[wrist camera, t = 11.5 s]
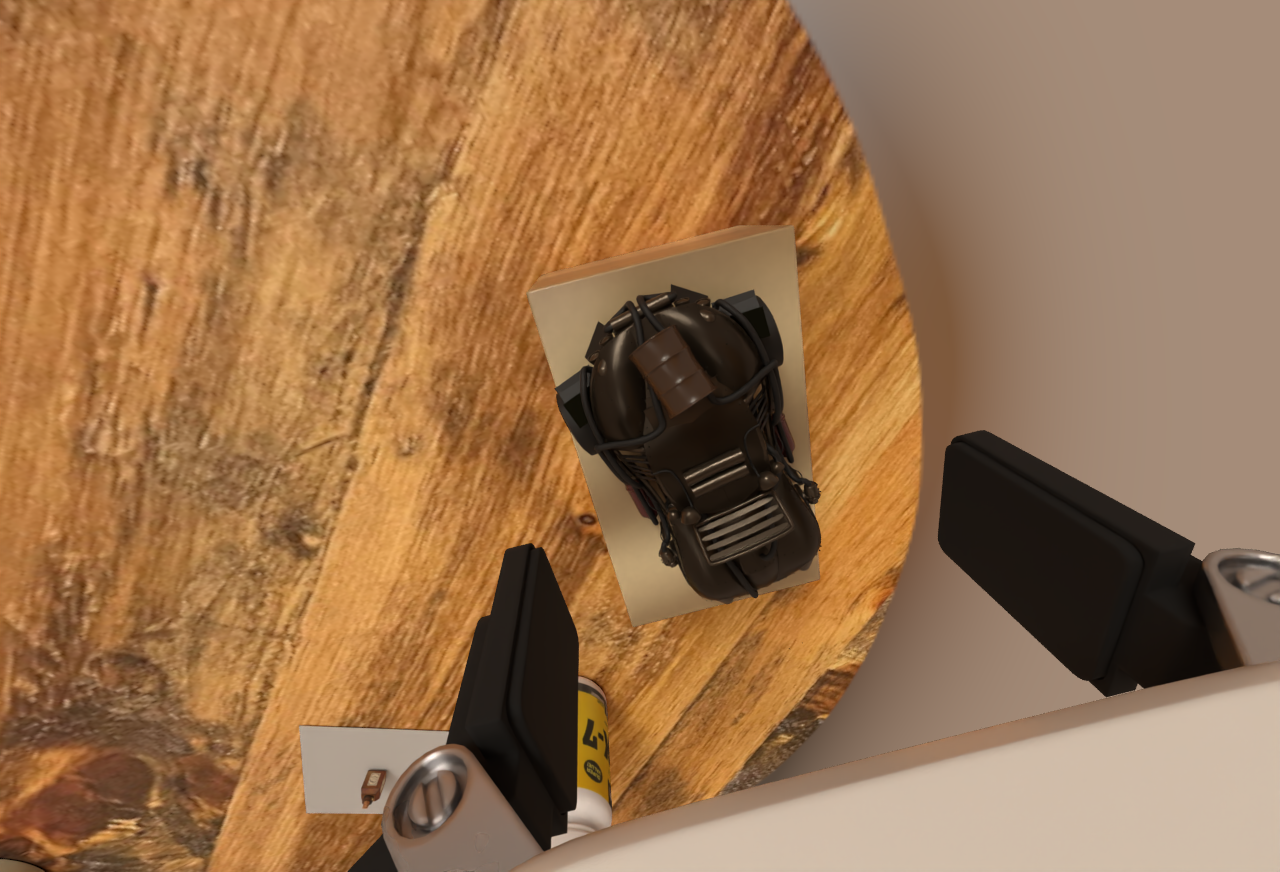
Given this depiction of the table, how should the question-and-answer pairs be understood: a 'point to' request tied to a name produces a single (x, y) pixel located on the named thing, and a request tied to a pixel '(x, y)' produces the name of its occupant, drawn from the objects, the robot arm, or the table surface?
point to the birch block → (597, 294)
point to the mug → (17, 866)
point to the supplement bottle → (590, 766)
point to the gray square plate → (358, 765)
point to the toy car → (699, 436)
